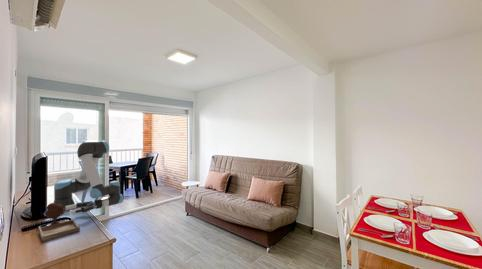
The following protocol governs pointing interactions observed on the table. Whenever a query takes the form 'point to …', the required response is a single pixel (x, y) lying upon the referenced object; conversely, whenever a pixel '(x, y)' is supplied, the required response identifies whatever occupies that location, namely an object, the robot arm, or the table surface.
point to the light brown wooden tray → (58, 230)
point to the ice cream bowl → (54, 212)
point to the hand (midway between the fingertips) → (67, 210)
